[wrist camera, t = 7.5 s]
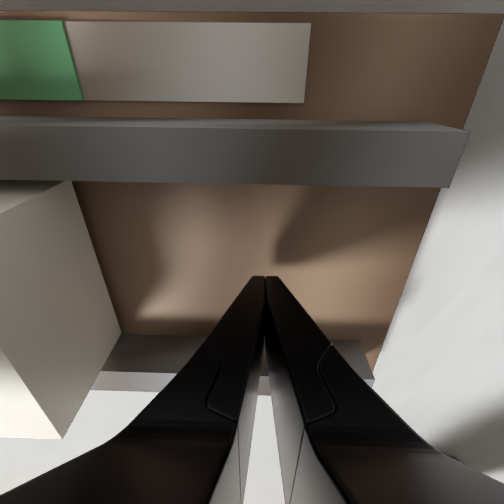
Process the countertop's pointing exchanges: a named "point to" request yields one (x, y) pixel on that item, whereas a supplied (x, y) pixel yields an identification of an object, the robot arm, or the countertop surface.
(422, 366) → the countertop surface
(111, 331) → the carriage
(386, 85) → the gauge base
